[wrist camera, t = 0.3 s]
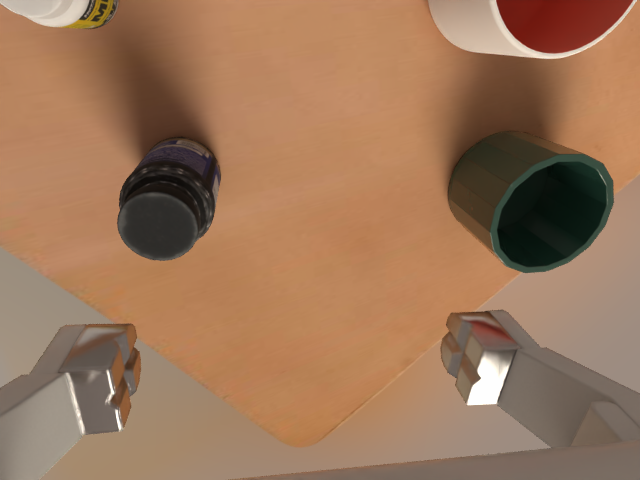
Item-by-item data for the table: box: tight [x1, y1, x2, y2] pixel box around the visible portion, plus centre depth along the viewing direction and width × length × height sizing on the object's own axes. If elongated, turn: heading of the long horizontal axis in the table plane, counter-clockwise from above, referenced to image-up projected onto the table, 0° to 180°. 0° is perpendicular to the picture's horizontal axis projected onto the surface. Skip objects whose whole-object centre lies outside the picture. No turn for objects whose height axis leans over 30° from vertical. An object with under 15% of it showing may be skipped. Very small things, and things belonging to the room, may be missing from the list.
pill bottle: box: [117, 137, 221, 261], centre depth 29 cm, size 6×6×11 cm
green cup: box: [448, 131, 614, 273], centre depth 36 cm, size 10×10×8 cm
